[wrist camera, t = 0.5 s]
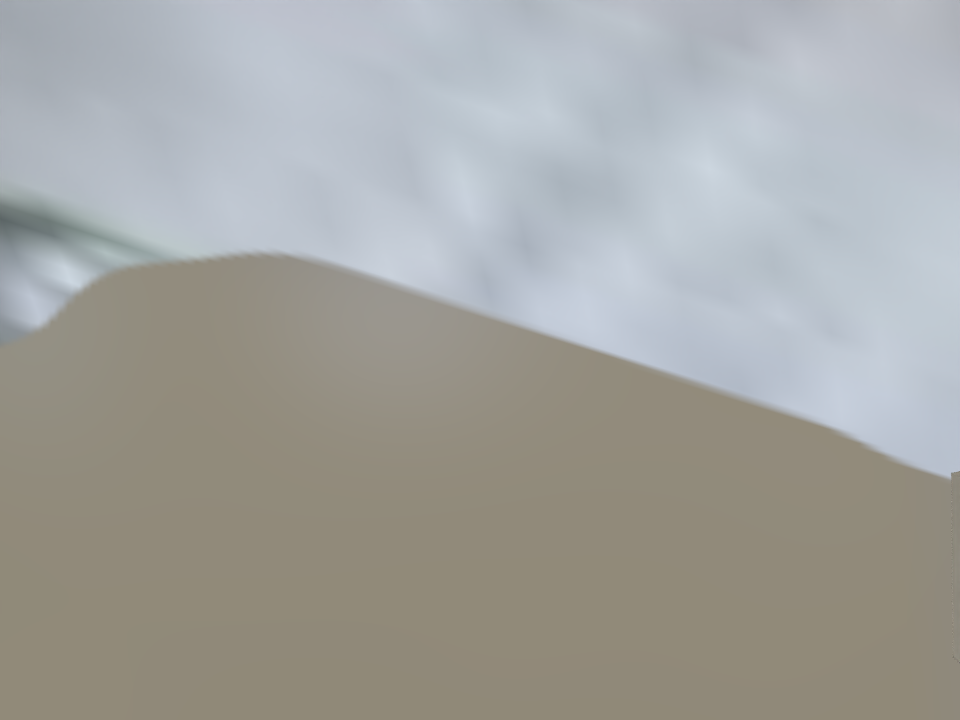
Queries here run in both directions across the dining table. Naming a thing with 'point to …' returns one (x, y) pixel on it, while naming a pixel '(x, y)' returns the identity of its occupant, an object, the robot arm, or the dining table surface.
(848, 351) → the dining table surface
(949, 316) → the dining table surface
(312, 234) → the dining table surface
